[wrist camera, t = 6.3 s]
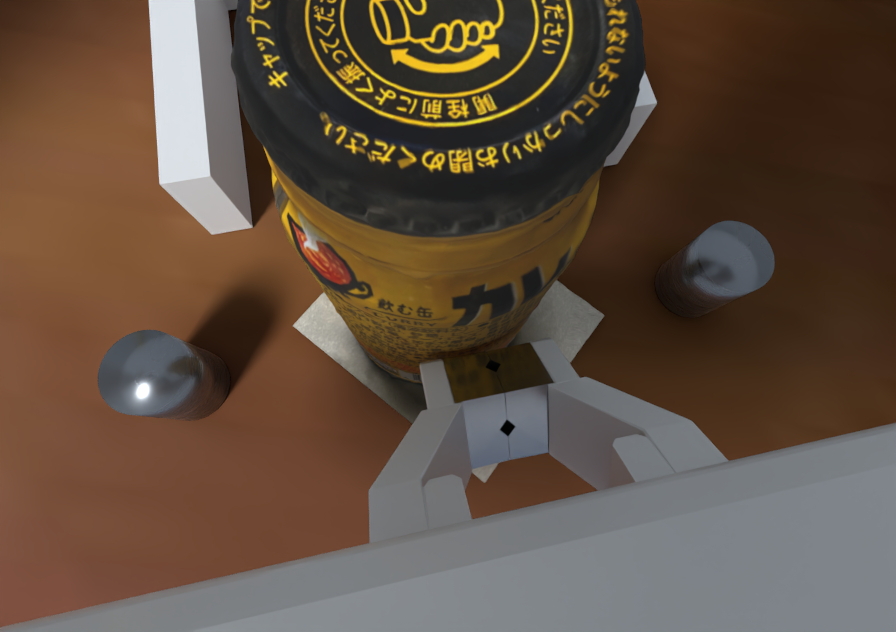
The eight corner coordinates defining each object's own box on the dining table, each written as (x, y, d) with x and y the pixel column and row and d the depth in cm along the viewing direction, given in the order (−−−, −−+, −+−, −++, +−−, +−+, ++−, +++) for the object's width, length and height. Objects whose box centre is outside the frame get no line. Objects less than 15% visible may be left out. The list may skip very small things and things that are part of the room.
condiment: (422, 186, 18) (407, -253, 7) (603, 316, 17) (952, 51, 6) (294, 327, 17) (-17, 61, 5) (483, 482, 16) (632, 589, 4)
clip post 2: (642, 291, 17) (684, 261, 15) (675, 245, 18) (721, 206, 15) (698, 330, 17) (752, 307, 14) (729, 282, 18) (787, 250, 15)
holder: (617, 164, 19) (657, 103, 16) (212, 234, 18) (159, 184, 14) (540, -57, 22) (559, -148, 19) (190, -12, 21) (142, -102, 17)
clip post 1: (143, 390, 16) (79, 378, 13) (195, 336, 16) (145, 313, 14) (193, 435, 16) (139, 433, 13) (245, 378, 16) (204, 364, 13)
